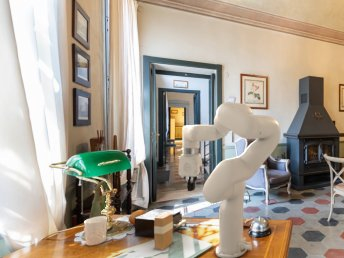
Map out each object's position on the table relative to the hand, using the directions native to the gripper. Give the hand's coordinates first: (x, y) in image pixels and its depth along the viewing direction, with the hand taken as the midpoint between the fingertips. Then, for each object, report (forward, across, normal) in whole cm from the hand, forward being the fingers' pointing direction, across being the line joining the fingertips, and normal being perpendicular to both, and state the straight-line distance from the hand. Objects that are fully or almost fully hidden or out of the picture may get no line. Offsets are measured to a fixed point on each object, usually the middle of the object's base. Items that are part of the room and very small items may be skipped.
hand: (191, 190), depth 110 cm
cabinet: (+21, -18, 0) cm, 28 cm away
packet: (+21, -5, -12) cm, 25 cm away
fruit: (+21, -35, +5) cm, 41 cm away
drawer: (+20, -14, 0) cm, 24 cm away
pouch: (+21, -47, -5) cm, 52 cm away
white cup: (+21, -37, -15) cm, 45 cm away
